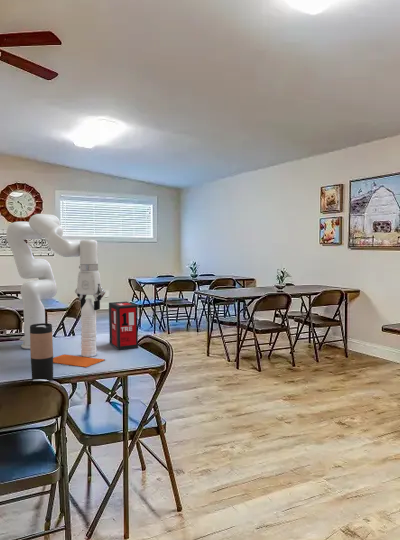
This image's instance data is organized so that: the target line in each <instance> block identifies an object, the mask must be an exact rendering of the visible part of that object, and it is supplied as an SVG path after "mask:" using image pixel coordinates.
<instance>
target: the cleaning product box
mask: <svg viewBox="0 0 400 540" xmlns="http://www.w3.org/2000/svg"><path fill="white" fill-rule="evenodd" d="M138 327H139V326H138V305H137V304H135V303H132V302H129V301H127V300H125V301H112V302H108V329H109V330H108V331H109V344H110V345H112V346H113V347H114V348H116V349H117V350H118V351H124V350H125V351H126V350H133V349H139V331H138V330H139V328H138Z"/></svg>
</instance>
